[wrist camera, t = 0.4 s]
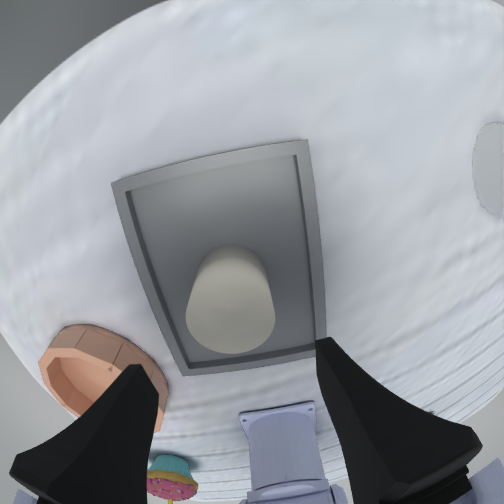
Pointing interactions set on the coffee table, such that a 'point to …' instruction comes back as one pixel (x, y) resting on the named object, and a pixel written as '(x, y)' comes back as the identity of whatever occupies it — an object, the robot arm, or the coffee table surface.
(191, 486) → the cupcake
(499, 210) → the grey white cylinder
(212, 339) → the smooth grey cylinder
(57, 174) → the coffee table surface
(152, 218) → the parts tray
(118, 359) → the terracotta bowl
